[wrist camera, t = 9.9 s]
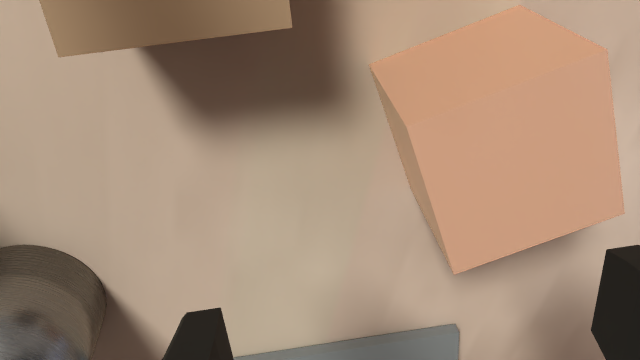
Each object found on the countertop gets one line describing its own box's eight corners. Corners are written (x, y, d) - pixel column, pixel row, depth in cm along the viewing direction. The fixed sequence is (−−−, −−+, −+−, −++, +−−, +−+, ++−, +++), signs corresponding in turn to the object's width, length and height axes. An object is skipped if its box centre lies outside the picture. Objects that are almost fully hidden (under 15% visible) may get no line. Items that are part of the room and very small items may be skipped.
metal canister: (99, 245, 20) (61, 353, 16) (112, 346, 22) (81, 462, 18) (-54, 244, 19) (-138, 358, 15) (-23, 349, 22) (-88, 471, 17)
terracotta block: (518, 4, 18) (607, 49, 13) (542, 138, 20) (624, 213, 16) (368, 63, 18) (406, 126, 14) (410, 187, 20) (454, 274, 16)
